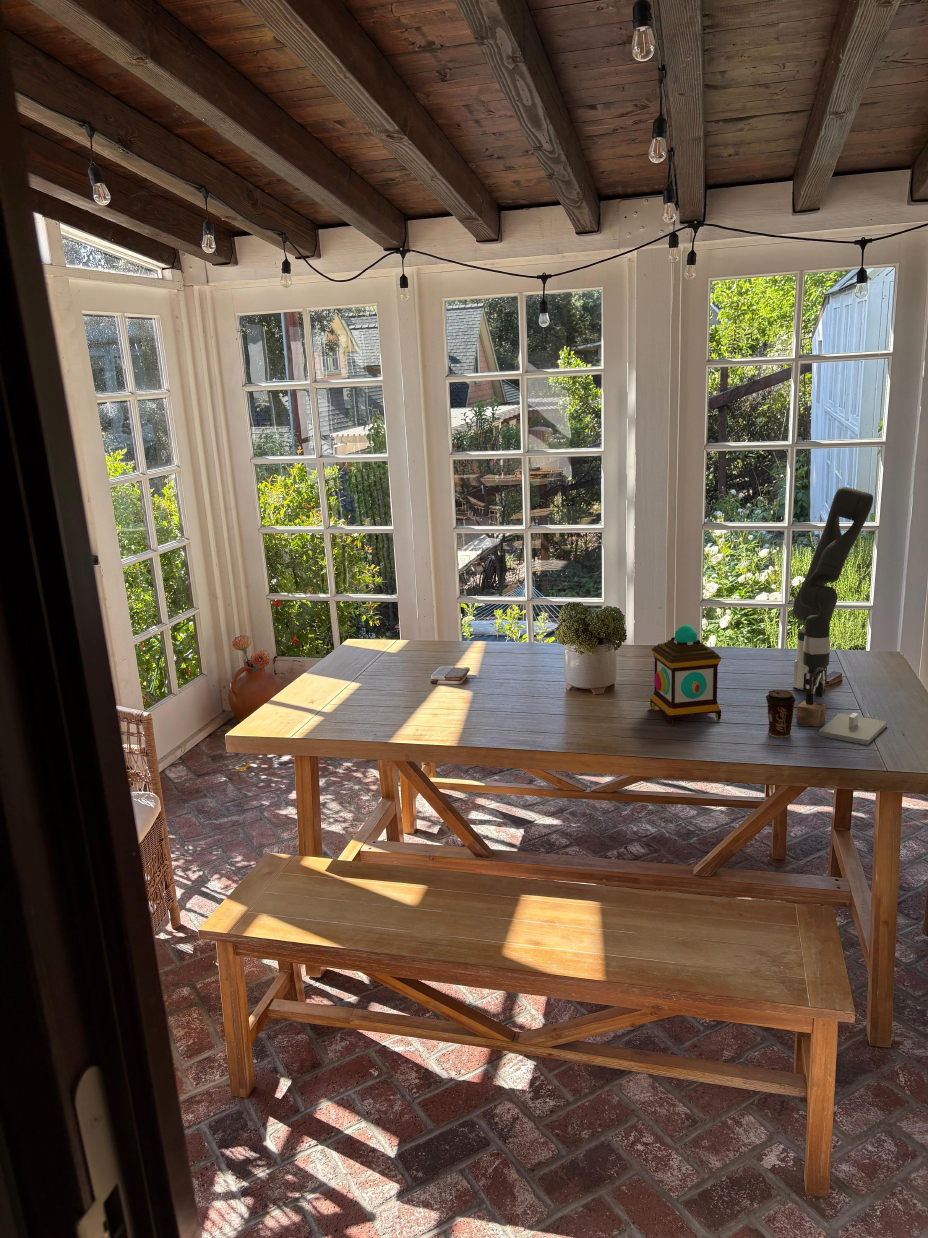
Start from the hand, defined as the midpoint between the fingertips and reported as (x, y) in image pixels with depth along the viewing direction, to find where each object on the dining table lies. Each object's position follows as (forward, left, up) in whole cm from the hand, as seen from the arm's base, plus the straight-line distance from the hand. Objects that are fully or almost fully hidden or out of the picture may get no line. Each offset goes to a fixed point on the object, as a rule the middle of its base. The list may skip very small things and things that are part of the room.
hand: (814, 700), depth 279 cm
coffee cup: (-5, -15, -7) cm, 17 cm away
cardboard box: (-1, 0, -7) cm, 7 cm away
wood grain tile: (+12, -1, -6) cm, 13 cm away
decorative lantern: (-36, -15, -7) cm, 40 cm away
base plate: (+12, -1, -7) cm, 14 cm away
